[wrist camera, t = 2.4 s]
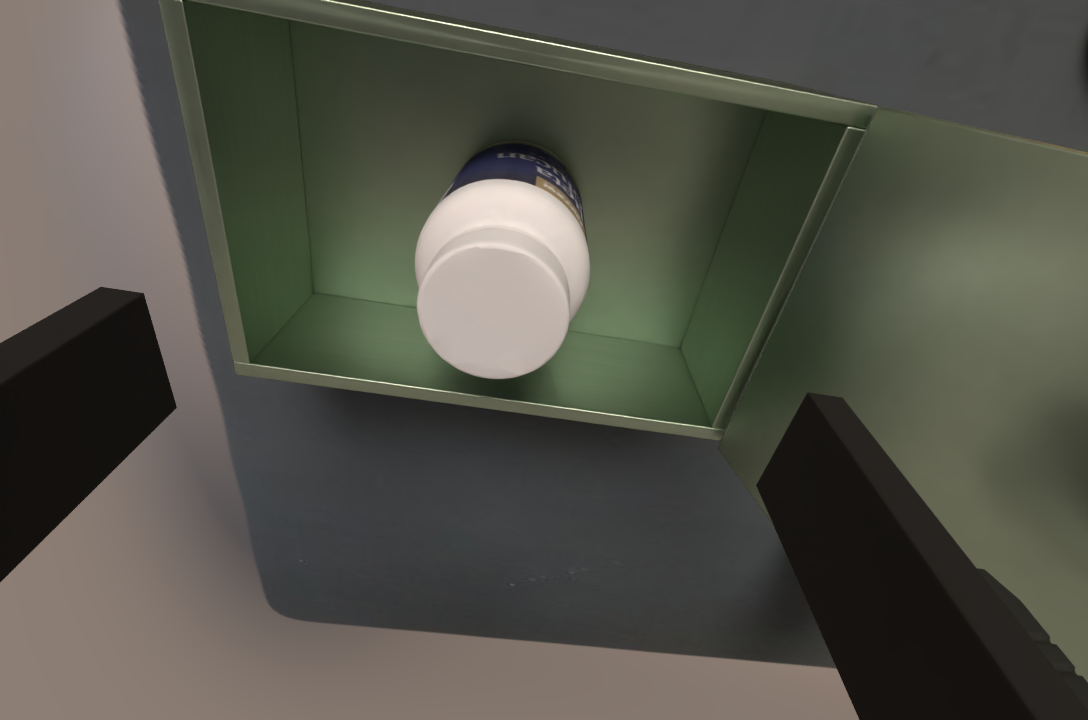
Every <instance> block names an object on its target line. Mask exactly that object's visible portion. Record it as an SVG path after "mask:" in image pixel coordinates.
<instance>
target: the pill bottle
mask: <svg viewBox="0 0 1088 720" xmlns="http://www.w3.org/2000/svg"><path fill="white" fill-rule="evenodd" d="M415 273H416V280H417V284H418V288H419V291H418V297H417V313H418V319H419V324H420V327H421V329H422V332H423V334H424V336H425V338H426V340H427V341H428V343H429V344H430V346H431V347H432V348H433V350H434V351H435V352H436V353H437V354H438V355H439V356H440V357H441V358H442V359H443V360H445V361H446V362H447V363H449V364H450V365H452V366H453V367H455V368H457V369H458V370H460V371H463V372H465V373H468V374H470V375H473V376H477V377H482V378H488V379H508V378H515V377H519V376H522V375H525V374H527V373H530V372H532V371H534V370H536V369H538V368H540V367H541V366H543V365H544V364H545V363H546V362H547V361H549V360H550V359H551V358H552V357H553V356H554V355H555V353H556V352H557V351H558V349H559V348H560V347H561V345H562V343H563V341H564V339H565V336H566V334H567V331H568V326H569V323H570V322H571V321H572V319H573V318H574V317H575V315H576V314H577V313H578V311H579V309H580V307H581V306H582V304H583V301H584V299H585V296H586V293H587V290H588V285H589V280H590V259H589V251H588V244H587V236H586V230H585V222H584V215H583V206H582V200H581V195H580V191H579V188H578V185H577V183H576V180H575V178H574V176H573V174H572V173H571V171H570V170H569V168H568V167H567V166H566V165H565V163H564V162H563V161H562V160H561V159H560V158H559V157H557V156H556V155H555V154H553V153H552V152H550V151H549V150H547V149H545V148H543V147H541V146H539V145H536V144H533V143H529V142H523V141H505V142H499V143H495V144H493V145H490V146H488V147H486V148H484V149H482V150H481V151H479V152H478V153H476V154H475V155H474V156H473V157H471V158H470V159H469V160H468V161H467V162H466V164H465V165H464V166H463V167H462V169H461V170H460V172H459V173H458V175H457V176H456V178H455V179H454V181H453V182H452V184H451V185H450V187H449V188H448V190H447V191H446V193H445V194H444V195H443V197H442V198H441V200H440V201H439V203H438V204H437V205H436V207H435V208H434V210H433V211H432V213H431V214H430V216H429V218H428V219H427V221H426V223H425V225H424V227H423V229H422V231H421V233H420V236H419V239H418V242H417V246H416V253H415Z"/></svg>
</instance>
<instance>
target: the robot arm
mask: <svg viewBox="0 0 1088 720" xmlns="http://www.w3.org/2000/svg"><path fill="white" fill-rule="evenodd" d="M174 409H176V403H175V400H174V397H173V393H172V390H171V386H170V383H169V379H168V376H167V372H166V369H165V365H164V362H163V358H162V355H161V352H160V348H159V345H158V341H157V338H156V334H155V331H154V328H153V324H152V320H151V317H150V314H149V310H148V307H147V303H146V300H145V296H144V293H138V292H131V291H125V290H118V289H112V288H105V287H100V288H98V289H96V290H95V291H93V292H91V293H89V294H88V295H86V296H84V297H82V298H80V299H78V300H77V301H75V302H73V303H71V304H70V305H68V306H66V307H64V308H63V309H61V310H59V311H57V312H55V313H53V314H52V315H50V316H48V317H47V318H45V319H43V320H41V321H39V322H37V323H36V324H34V325H32V326H30V327H28V328H27V329H25V330H23V331H21V332H20V333H18V334H16V335H14V336H12V337H11V338H9V339H7V340H5V341H3V342H2V343H0V582H1V581H2V580H3V579H4V578H5V577H6V576H7V575H8V574H9V573H10V572H11V571H12V570H13V569H14V568H15V567H16V566H17V565H18V564H19V563H20V562H21V561H22V560H23V559H24V558H25V557H26V556H27V555H28V554H29V553H30V552H31V551H32V550H33V549H34V548H35V547H36V546H37V545H38V544H39V543H40V542H41V541H42V540H43V539H44V538H45V537H46V536H47V535H48V534H49V533H50V532H51V531H52V530H53V529H55V528H56V527H57V526H58V525H59V523H61V521H63V519H65V518H66V517H67V516H68V515H69V514H70V513H71V512H72V511H73V510H74V509H75V508H76V507H77V506H78V505H79V504H80V503H81V502H82V501H83V500H84V499H85V498H86V497H87V496H88V495H89V494H90V493H91V492H92V491H93V490H94V489H95V488H96V487H97V486H98V485H99V484H100V483H101V482H102V481H103V480H104V479H105V478H106V477H107V476H108V475H109V474H110V473H111V472H112V471H113V470H114V469H115V468H116V467H117V466H118V465H119V464H120V463H121V462H122V461H123V460H124V459H125V458H126V457H127V456H128V455H129V454H130V453H131V452H132V451H133V450H134V449H135V448H136V447H137V446H138V445H139V444H140V443H141V442H142V441H143V440H144V439H145V438H146V437H147V436H148V435H149V434H151V432H152V431H154V430H155V428H157V427H158V426H159V424H161V422H163V421H164V419H166V417H168V416H169V415H170V414H171V413H172V412H173V411H174ZM756 486H757V489H758V491H759V493H760V496H761V498H762V500H763V502H764V505H765V507H766V509H767V511H768V514H769V516H770V518H771V520H772V523H773V525H774V527H775V529H776V532H777V534H778V536H779V539H780V541H781V543H782V545H783V548H784V550H785V552H786V554H787V557H788V559H789V561H790V563H791V566H792V568H793V570H794V572H795V575H796V577H797V579H798V582H799V584H800V586H801V588H802V591H803V593H804V595H805V597H806V600H807V602H808V604H809V606H810V609H811V611H812V613H813V615H814V618H815V620H816V622H817V625H818V627H819V629H820V631H821V634H822V636H823V638H824V640H825V643H826V645H827V647H828V649H829V652H830V654H831V656H832V658H833V661H834V663H835V665H836V668H837V670H838V672H839V674H840V676H841V679H842V681H843V683H844V686H845V688H846V690H847V692H848V695H849V697H850V699H851V701H852V704H853V706H854V708H855V710H856V713H857V715H858V717H859V720H1088V682H1087V681H1086V680H1085V679H1084V677H1083V676H1079V675H1077V674H1076V672H1075V666H1074V665H1073V664H1072V663H1071V661H1070V660H1069V659H1068V658H1067V657H1066V655H1065V654H1064V653H1063V652H1062V650H1061V649H1060V648H1059V647H1058V646H1057V644H1052V643H1051V642H1050V636H1049V635H1048V633H1047V632H1046V631H1045V630H1044V628H1043V627H1042V626H1041V625H1040V624H1039V622H1038V621H1037V620H1036V619H1035V617H1034V616H1033V615H1032V614H1031V613H1030V611H1029V610H1028V609H1027V608H1026V606H1025V605H1024V604H1023V603H1022V602H1021V601H1020V600H1019V599H1018V598H1017V597H1016V596H1015V595H1014V594H1012V593H1011V592H1010V591H1009V590H1008V589H1007V588H1005V587H1004V586H1003V585H1002V584H1001V583H1000V582H999V581H997V580H996V579H995V578H994V577H993V576H992V575H990V574H989V573H988V572H987V571H986V570H985V569H979V568H976V567H975V566H974V564H973V563H972V562H971V560H970V559H969V558H968V557H967V555H966V554H965V553H964V552H963V550H962V549H961V548H960V546H959V545H958V544H957V543H956V541H955V540H954V539H953V538H952V536H951V535H950V534H949V532H948V531H947V530H946V529H945V527H944V526H943V525H942V523H941V522H940V521H939V520H938V518H937V517H936V516H935V515H934V513H933V512H932V511H931V509H930V508H929V507H928V506H927V504H926V503H925V502H924V501H923V499H922V498H921V497H920V495H919V494H918V493H917V492H916V490H915V489H914V488H913V487H912V485H911V484H910V483H909V481H908V480H907V479H906V478H905V476H904V475H903V474H902V473H901V471H900V470H899V469H898V467H897V466H896V465H895V464H894V462H893V461H892V460H891V459H890V457H889V456H888V455H887V453H886V452H885V451H884V450H883V448H882V447H881V446H880V445H879V443H878V442H877V441H876V439H875V438H874V437H873V436H872V434H871V433H870V432H869V431H868V429H867V428H866V427H865V425H864V424H863V423H862V422H861V420H860V419H859V418H858V417H857V415H856V414H855V413H854V411H853V410H852V409H851V408H850V406H849V405H848V404H847V403H846V401H845V400H844V399H843V397H836V396H829V395H823V394H816V393H809V392H807V394H806V396H805V398H804V399H803V401H802V403H801V405H800V407H799V408H798V410H797V412H796V414H795V416H794V418H793V419H792V421H791V423H790V425H789V427H788V428H787V430H786V432H785V434H784V436H783V437H782V439H781V441H780V443H779V445H778V446H777V448H776V450H775V452H774V454H773V455H772V457H771V459H770V461H769V463H768V465H767V466H766V468H765V470H764V472H763V474H762V475H761V477H760V479H759V481H758V483H757V484H756Z"/></svg>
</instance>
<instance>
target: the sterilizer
mask: <svg viewBox="0 0 1088 720" xmlns="http://www.w3.org/2000/svg"><path fill="white" fill-rule="evenodd" d="M159 4H160V9H161V13H162V18H163V23H164V28H165V33H166V38H167V43H168V47H169V52H170V57H171V62H172V67H173V72H174V76H175V81H176V86H177V91H178V96H179V101H180V106H181V110H182V115H183V120H184V125H185V130H186V135H187V139H188V144H189V149H190V154H191V159H192V164H193V168H194V173H195V178H196V183H197V188H198V193H199V198H200V202H201V207H202V212H203V217H204V222H205V227H206V231H207V236H208V241H209V246H210V251H211V256H212V260H213V265H214V270H215V275H216V280H217V285H218V290H219V294H220V299H221V304H222V309H223V314H224V319H225V323H226V328H227V333H228V338H229V343H230V348H231V353H232V357H233V361H234V366H235V370H236V374H237V375H244V376H251V377H259V378H266V379H273V380H280V381H288V382H295V383H302V384H310V385H317V386H324V387H332V388H339V389H346V390H353V391H361V392H368V393H375V394H383V395H390V396H397V397H405V398H412V399H419V400H426V401H434V402H441V403H448V404H456V405H463V406H470V407H478V408H485V409H492V410H499V411H507V412H514V413H521V414H529V415H536V416H543V417H551V418H558V419H565V420H572V421H580V422H587V423H594V424H602V425H609V426H616V427H624V428H631V429H638V430H645V431H653V432H660V433H667V434H675V435H682V436H689V437H697V438H704V439H711V440H718V441H719V440H721V438H722V436H723V434H724V432H725V429H726V428H727V425H728V423H729V421H730V419H731V417H732V415H733V413H734V411H735V409H736V406H737V404H738V402H739V400H740V398H741V396H742V394H743V392H744V390H745V387H746V385H747V383H748V381H749V379H750V377H751V375H752V373H753V370H754V368H755V366H756V364H757V362H758V360H759V358H760V356H761V354H762V351H763V349H764V347H765V345H766V343H767V341H768V339H769V337H770V335H771V332H772V330H773V328H774V326H775V324H776V322H777V320H778V318H779V316H780V313H781V311H782V309H783V307H784V305H785V303H786V301H787V299H788V297H789V294H790V292H791V290H792V288H793V286H794V284H795V282H796V280H797V278H798V275H799V273H800V271H801V269H802V267H803V265H804V263H805V261H806V258H807V256H808V254H809V252H810V250H811V248H812V246H813V244H814V242H815V239H816V237H817V235H818V233H819V231H820V229H821V227H822V225H823V223H824V220H825V218H826V216H827V214H828V212H829V210H830V208H831V206H832V204H833V201H834V199H835V197H836V195H837V193H838V191H839V189H840V187H841V185H842V182H843V180H844V178H845V176H846V174H847V172H848V170H849V168H850V165H851V163H852V161H853V159H854V157H855V155H856V153H857V151H858V149H859V146H860V144H861V142H862V140H863V138H864V136H865V134H866V129H868V128H869V126H870V124H871V122H872V120H873V117H874V115H875V113H876V111H877V109H878V106H877V105H874V104H870V103H866V102H862V101H858V100H854V99H850V98H846V97H842V96H837V95H833V94H829V93H825V92H821V91H817V90H813V89H809V88H805V87H800V86H796V85H792V84H788V83H784V82H779V81H773V80H768V79H763V78H758V77H753V76H748V75H743V74H737V73H732V72H727V71H722V70H717V69H712V68H706V67H701V66H696V65H691V64H686V63H681V62H675V61H670V60H665V59H660V58H655V57H650V56H645V55H639V54H634V53H629V52H624V51H619V50H614V49H608V48H603V47H598V46H593V45H588V44H583V43H578V42H572V41H567V40H562V39H557V38H552V37H547V36H541V35H536V34H531V33H526V32H521V31H516V30H511V29H505V28H500V27H495V26H490V25H485V24H480V23H474V22H469V21H464V20H459V19H454V18H449V17H444V16H438V15H433V14H428V13H423V12H418V11H413V10H407V9H402V8H397V7H392V6H387V5H382V4H377V3H371V2H366V1H361V0H159ZM505 141H523V142H529V143H533V144H536V145H539V146H541V147H543V148H545V149H547V150H549V151H550V152H552V153H553V154H555V155H556V156H557V157H559V158H560V159H561V160H562V161H563V162H564V163H565V165H566V166H567V167H568V168H569V170H570V171H571V173H572V174H573V176H574V178H575V180H576V183H577V185H578V188H579V191H580V195H581V200H582V206H583V215H584V222H585V230H586V236H587V244H588V251H589V259H590V280H589V285H588V290H587V293H586V296H585V299H584V301H583V304H582V306H581V307H580V309H579V311H578V313H577V314H576V315H575V317H574V318H573V319H572V321H571V322H570V323H569V326H568V331H567V334H566V336H565V339H564V341H563V343H562V345H561V347H560V348H559V349H558V351H557V352H556V353H555V355H554V356H553V357H552V358H551V359H550V360H549V361H547V362H546V363H545V364H544V365H543V366H541V367H540V368H538V369H536V370H534V371H532V372H530V373H527V374H525V375H522V376H519V377H515V378H508V379H488V378H482V377H477V376H473V375H470V374H468V373H465V372H463V371H460V370H458V369H457V368H455V367H453V366H452V365H450V364H449V363H447V362H446V361H445V360H443V359H442V358H441V357H440V356H439V355H438V354H437V353H436V352H435V351H434V350H433V348H432V347H431V346H430V344H429V343H428V341H427V340H426V338H425V336H424V334H423V332H422V329H421V327H420V324H419V319H418V313H417V297H418V291H419V288H418V284H417V280H416V273H415V253H416V246H417V242H418V239H419V236H420V233H421V231H422V229H423V227H424V225H425V223H426V221H427V219H428V218H429V216H430V214H431V213H432V211H433V210H434V208H435V207H436V205H437V204H438V203H439V201H440V200H441V198H442V197H443V195H444V194H445V193H446V191H447V190H448V188H449V187H450V185H451V184H452V182H453V181H454V179H455V178H456V176H457V175H458V173H459V172H460V170H461V169H462V167H463V166H464V165H465V164H466V162H467V161H468V160H469V159H470V158H471V157H473V156H474V155H475V154H476V153H478V152H479V151H481V150H482V149H484V148H486V147H488V146H490V145H493V144H495V143H499V142H505Z"/></svg>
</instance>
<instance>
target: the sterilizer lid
mask: <svg viewBox="0 0 1088 720" xmlns="http://www.w3.org/2000/svg"><path fill="white" fill-rule="evenodd" d="M807 392H809V393H816V394H823V395H829V396H836V397H843V399H844V400H845V401H846V403H847V404H848V405H849V406H850V408H851V409H852V410H853V411H854V413H855V414H856V415H857V417H858V418H859V419H860V420H861V422H862V423H863V424H864V425H865V427H866V428H867V429H868V431H869V432H870V433H871V434H872V436H873V437H874V438H875V439H876V441H877V442H878V443H879V445H880V446H881V447H882V448H883V450H884V451H885V452H886V453H887V455H888V456H889V457H890V459H891V460H892V461H893V462H894V464H895V465H896V466H897V467H898V469H899V470H900V471H901V473H902V474H903V475H904V476H905V478H906V479H907V480H908V481H909V483H910V484H911V485H912V487H913V488H914V489H915V490H916V492H917V493H918V494H919V495H920V497H921V498H922V499H923V501H924V502H925V503H926V504H927V506H928V507H929V508H930V509H931V511H932V512H933V513H934V515H935V516H936V517H937V518H938V520H939V521H940V522H941V523H942V525H943V526H944V527H945V529H946V530H947V531H948V532H949V534H950V535H951V536H952V538H953V539H954V540H955V541H956V543H957V544H958V545H959V546H960V548H961V549H962V550H963V552H964V553H965V554H966V555H967V557H968V558H969V559H970V560H971V562H972V563H973V564H974V566H975V567H976V568H979V569H985V570H986V571H987V572H988V573H989V574H990V575H992V576H993V577H994V578H995V579H996V580H997V581H999V582H1000V583H1001V584H1002V585H1003V586H1004V587H1005V588H1007V589H1008V590H1009V591H1010V592H1011V593H1012V594H1014V595H1015V596H1016V597H1017V598H1018V599H1019V600H1020V601H1021V602H1022V603H1023V604H1024V605H1025V606H1026V608H1027V609H1028V610H1029V611H1030V613H1031V614H1032V615H1033V616H1034V617H1035V619H1036V620H1037V621H1038V622H1039V624H1040V625H1041V626H1042V627H1043V628H1044V630H1045V631H1046V632H1047V633H1048V635H1049V636H1050V642H1051V643H1052V644H1057V646H1058V647H1059V648H1060V649H1061V650H1062V652H1063V653H1064V654H1065V655H1066V657H1067V658H1068V659H1069V660H1070V661H1071V663H1072V664H1073V665H1074V666H1075V672H1076V674H1077V675H1079V676H1083V677H1084V679H1085V680H1086V681H1087V682H1088V153H1086V152H1082V151H1078V150H1073V149H1069V148H1064V147H1060V146H1056V145H1051V144H1047V143H1042V142H1038V141H1034V140H1029V139H1025V138H1020V137H1016V136H1012V135H1007V134H1003V133H998V132H994V131H990V130H985V129H981V128H976V127H972V126H968V125H963V124H959V123H954V122H950V121H946V120H941V119H937V118H932V117H928V116H924V115H919V114H915V113H910V112H906V111H902V110H897V109H892V108H886V107H880V108H879V109H878V111H877V113H876V115H875V117H874V119H873V121H872V124H871V126H870V128H869V130H868V132H867V134H866V136H865V138H864V140H863V143H862V145H861V147H860V149H859V151H858V153H857V155H856V157H855V159H854V162H853V164H852V166H851V168H850V170H849V172H848V174H847V176H846V178H845V180H844V183H843V185H842V187H841V189H840V191H839V193H838V195H837V197H836V199H835V202H834V204H833V206H832V208H831V210H830V212H829V214H828V216H827V218H826V221H825V223H824V225H823V227H822V229H821V231H820V233H819V235H818V237H817V240H816V242H815V244H814V246H813V248H812V250H811V252H810V254H809V256H808V258H807V261H806V263H805V265H804V267H803V269H802V271H801V273H800V275H799V277H798V280H797V282H796V284H795V286H794V288H793V290H792V292H791V294H790V296H789V299H788V301H787V303H786V305H785V307H784V309H783V311H782V313H781V315H780V318H779V320H778V322H777V324H776V326H775V328H774V330H773V332H772V334H771V337H770V339H769V341H768V343H767V345H766V347H765V349H764V351H763V353H762V355H761V358H760V360H759V362H758V364H757V366H756V368H755V370H754V372H753V374H752V377H751V379H750V381H749V383H748V385H747V387H746V389H745V391H744V393H743V396H742V398H741V400H740V402H739V404H738V406H737V408H736V410H735V412H734V415H733V417H732V419H731V421H730V423H729V425H728V427H727V429H726V431H725V433H724V436H723V438H722V440H721V442H720V444H719V446H718V449H719V451H720V452H721V453H722V455H723V456H724V458H725V459H726V460H727V462H728V463H729V464H730V466H731V467H732V469H733V470H734V471H735V473H736V474H737V476H738V477H739V478H740V480H741V481H742V482H743V484H744V485H745V487H746V488H747V489H748V491H749V492H750V493H751V495H752V496H753V498H754V499H755V500H756V502H757V503H758V504H759V506H760V507H761V509H762V510H763V511H764V513H765V514H766V516H767V517H768V518H769V520H770V521H771V522H772V520H771V518H770V516H769V514H768V511H767V509H766V507H765V505H764V502H763V500H762V498H761V496H760V493H759V491H758V489H757V486H756V484H757V483H758V481H759V479H760V477H761V475H762V474H763V472H764V470H765V468H766V466H767V465H768V463H769V461H770V459H771V457H772V455H773V454H774V452H775V450H776V448H777V446H778V445H779V443H780V441H781V439H782V437H783V436H784V434H785V432H786V430H787V428H788V427H789V425H790V423H791V421H792V419H793V418H794V416H795V414H796V412H797V410H798V408H799V407H800V405H801V403H802V401H803V399H804V398H805V396H806V394H807ZM772 524H773V523H772Z"/></svg>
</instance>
